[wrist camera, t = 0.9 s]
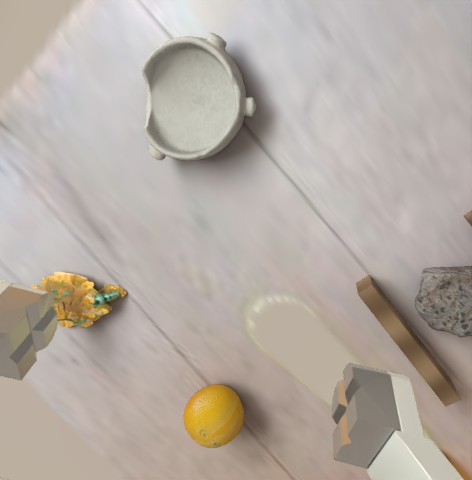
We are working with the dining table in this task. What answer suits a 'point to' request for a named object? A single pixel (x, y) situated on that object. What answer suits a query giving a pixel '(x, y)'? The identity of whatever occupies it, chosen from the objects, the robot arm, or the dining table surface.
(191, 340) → the dining table surface
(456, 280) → the rock
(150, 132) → the dish
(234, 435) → the fruit
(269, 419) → the dining table surface
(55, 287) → the green and yellow piece
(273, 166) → the dining table surface
